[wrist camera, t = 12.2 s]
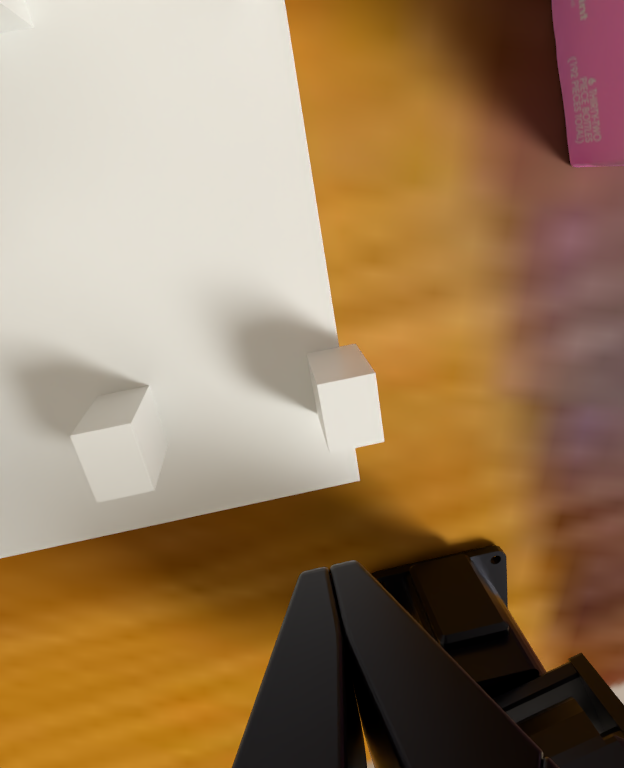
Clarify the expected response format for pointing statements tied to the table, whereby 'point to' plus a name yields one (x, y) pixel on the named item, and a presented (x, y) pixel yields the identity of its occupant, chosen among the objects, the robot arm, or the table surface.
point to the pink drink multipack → (592, 78)
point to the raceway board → (161, 273)
